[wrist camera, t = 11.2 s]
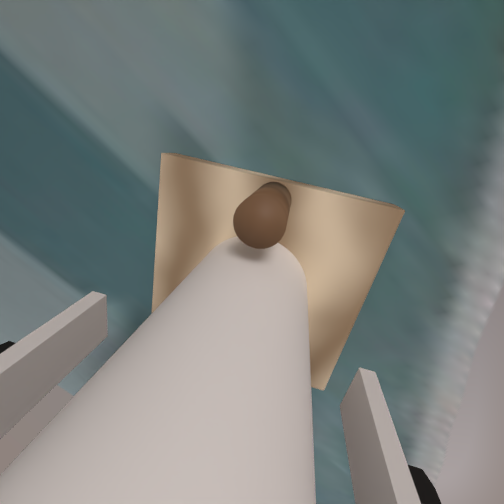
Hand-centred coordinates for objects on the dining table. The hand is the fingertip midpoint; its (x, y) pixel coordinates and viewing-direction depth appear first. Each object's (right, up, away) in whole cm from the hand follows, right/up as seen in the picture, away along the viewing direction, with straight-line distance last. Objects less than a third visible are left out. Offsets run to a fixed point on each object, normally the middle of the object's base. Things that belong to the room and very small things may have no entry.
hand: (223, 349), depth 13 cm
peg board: (+2, +3, +8) cm, 9 cm away
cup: (+1, +2, +7) cm, 7 cm away
